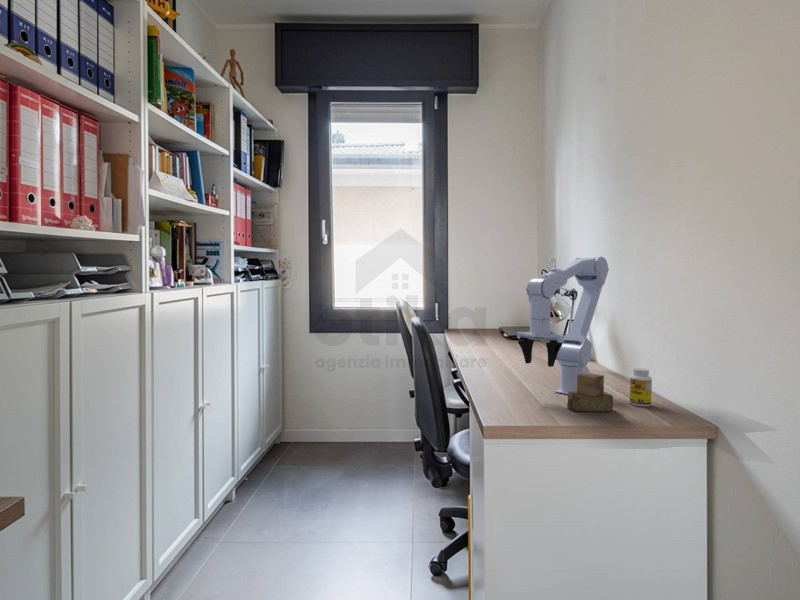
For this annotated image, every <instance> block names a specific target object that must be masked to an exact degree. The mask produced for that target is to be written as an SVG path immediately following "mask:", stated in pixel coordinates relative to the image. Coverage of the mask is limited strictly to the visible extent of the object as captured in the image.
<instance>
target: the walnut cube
mask: <svg viewBox="0 0 800 600" xmlns="http://www.w3.org/2000/svg"><path fill="white" fill-rule="evenodd" d="M604 392H605V375H604V374H598V373H591V372H589V373H583V374H579V375H577V393H579V394H584V395H590V396H597V395H601V394H604Z"/></svg>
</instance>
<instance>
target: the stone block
mask: <svg viewBox="0 0 800 600" xmlns="http://www.w3.org/2000/svg"><path fill="white" fill-rule="evenodd" d="M566 403H567V404H566V407H567V409H568V410H571V411H575V412H581V413H582V412H584V413H585V412H590V413H592V412H593V413H594V412H595V413H598V412H599V413H605V412H611V411H612V410H613V406H614V397H613V395H612V394H610V393H609V392H607V391H604V394H601V395H597V396H590V395H584V394H579V393H577V391H575V392H569V393H568V394H567V402H566Z"/></svg>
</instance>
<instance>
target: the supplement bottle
mask: <svg viewBox="0 0 800 600" xmlns="http://www.w3.org/2000/svg"><path fill="white" fill-rule="evenodd" d="M649 370H650V369H647V368H641V367H640V368H639V367H636V368H633V371H632V372H633V374H631V375H630V378H629V379H630V383H629V403H630V405H633V406H635V407H643V408H644V407H650V406H651V405H652V389H653V387H652V386H653V378H652V377H651V376H650V371H649Z"/></svg>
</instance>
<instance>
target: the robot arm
mask: <svg viewBox="0 0 800 600" xmlns="http://www.w3.org/2000/svg"><path fill="white" fill-rule="evenodd" d="M609 271H610V270H609V264H608V261H607V259H606V257H604V256H596V257H576V258H573V259H572V260H571V262H569V263H568V264H567V265H565V266H564V267H562V268H557V267H552V268H550V271H549V272H547V273H544V274H541V276H540V277H539V278H538V277H537V278H532V279H530V280H529V281H528V282H527V286H526V288H525V291H526V294H527V297H528V302H529V304H530V305H529V306H530V307H529V308H530V314H529V319H530V320H529V331H517V332H516V333H517V334H516V339H518V341H517V343H518V345H519V346H520V349H521V351H522V354H523V358H524V361H525V364H532V360H533V358H532V357H533V356H532V355H533V353H532V352H533V347H534V346H533V345H534V341H543V342H545V345H546V350H547V366H548V367H550V368H551V367H552V368H553V367H554V366H555V362H556V360H557V361H558V364H559V365H560V375H559V377H560V381H559V385H560V386H559V389H555V390H554V392H555V393H559V394H565V395H568V393H569V392H575V391H577V375H579V374H583V373H590V369H589V368H588V366H587V365H588V363H589V362H590V361H591V359H592V349H593V344H592V342H591V340H589V338H588V334H589V331H590V328H591V324H592V321H593V318H594V315H595V311H596V309H597V305H598V302H599V299H600V295H601V293H602V289H603V286H604V285H605V283H606V279H607V277H608V275H609V274H608V273H609ZM572 277H575V278H574V279H575V280H576V281H577V283H578V285H579V286H581V287H582V288H583V290H582V293H581V295H580V299H579V302H578V305H577V308H576V311H575V314H574V317H573V320H572V322H571V323H572V324H571V327H570V330H569V332H568V333H566V334H564V335H563V334H562V335H561V334H555V333H551V298H553V297H554V295H555V293H556V291H557V290H559V289H561V288H562V287H564V286H565V285H566V284H567V282H568V279H571V278H572Z"/></svg>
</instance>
